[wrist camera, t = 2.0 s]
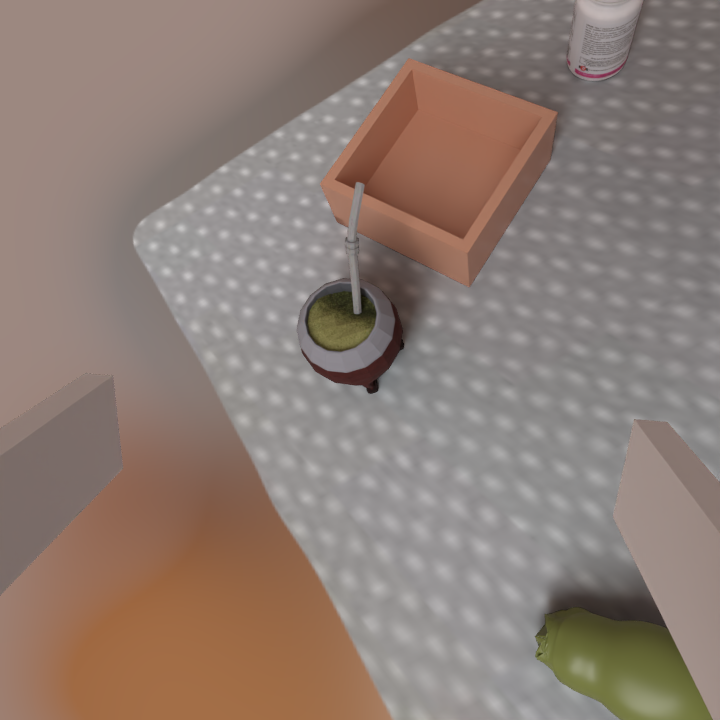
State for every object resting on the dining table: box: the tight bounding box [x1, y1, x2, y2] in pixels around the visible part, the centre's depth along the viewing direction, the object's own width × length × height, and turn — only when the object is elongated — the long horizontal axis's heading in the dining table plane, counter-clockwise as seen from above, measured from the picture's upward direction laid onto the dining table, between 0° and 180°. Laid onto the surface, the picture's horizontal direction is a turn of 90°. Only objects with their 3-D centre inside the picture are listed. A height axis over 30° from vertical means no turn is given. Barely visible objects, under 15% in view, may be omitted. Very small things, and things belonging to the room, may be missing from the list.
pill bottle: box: [567, 0, 643, 81], centre depth 46 cm, size 5×5×8 cm
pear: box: [535, 607, 713, 720], centre depth 34 cm, size 6×5×10 cm
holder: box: [320, 58, 558, 287], centre depth 46 cm, size 13×13×6 cm
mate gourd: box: [297, 182, 404, 394], centre depth 39 cm, size 8×8×15 cm
